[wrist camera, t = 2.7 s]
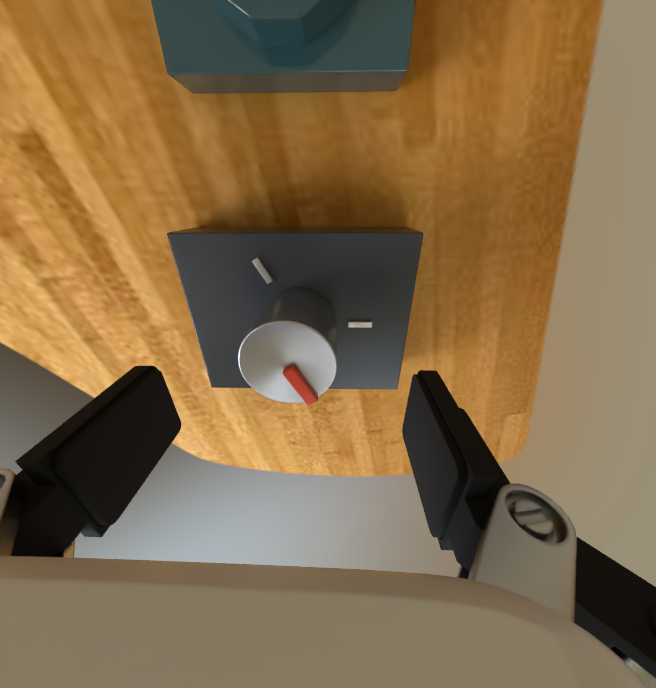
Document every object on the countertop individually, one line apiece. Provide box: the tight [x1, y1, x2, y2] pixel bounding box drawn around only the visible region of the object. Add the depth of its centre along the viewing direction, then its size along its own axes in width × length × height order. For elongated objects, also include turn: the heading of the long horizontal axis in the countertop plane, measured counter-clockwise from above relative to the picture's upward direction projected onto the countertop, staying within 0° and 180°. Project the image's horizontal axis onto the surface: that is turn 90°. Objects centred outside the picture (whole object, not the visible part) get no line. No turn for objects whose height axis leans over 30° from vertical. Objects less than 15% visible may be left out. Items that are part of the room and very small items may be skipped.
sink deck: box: [167, 227, 423, 389], centre depth 16 cm, size 13×10×3 cm
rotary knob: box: [238, 288, 337, 405], centre depth 13 cm, size 4×4×5 cm
